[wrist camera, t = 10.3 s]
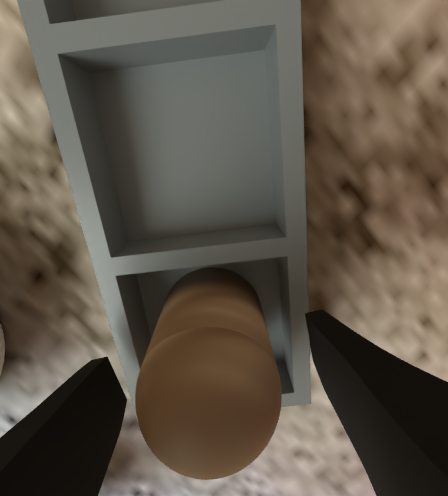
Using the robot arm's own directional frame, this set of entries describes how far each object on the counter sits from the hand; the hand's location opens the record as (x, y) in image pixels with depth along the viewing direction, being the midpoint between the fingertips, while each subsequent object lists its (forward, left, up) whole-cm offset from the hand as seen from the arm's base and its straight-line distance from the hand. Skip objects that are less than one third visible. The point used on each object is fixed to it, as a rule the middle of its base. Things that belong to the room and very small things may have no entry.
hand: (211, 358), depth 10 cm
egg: (0, 0, -3) cm, 3 cm away
